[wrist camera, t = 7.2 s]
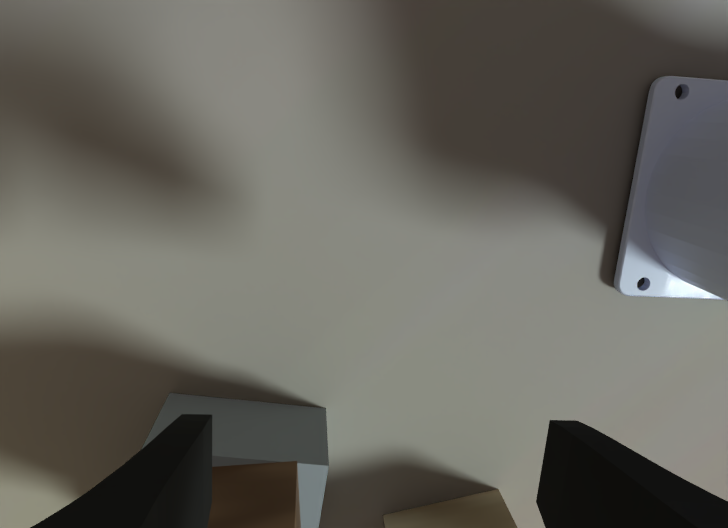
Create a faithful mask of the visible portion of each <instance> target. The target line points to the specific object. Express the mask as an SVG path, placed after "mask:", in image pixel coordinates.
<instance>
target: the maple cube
mask: <svg viewBox="0 0 728 528" xmlns="http://www.w3.org/2000/svg"><path fill="white" fill-rule="evenodd" d="M383 519H384V525H385V528H517V526H516V524H515V522H514V520H513V518H512V516H511V514H510V512H509V510H508V508H507V506H506V504H505V502H504V500H503V498H502V496H501V494H500V492H499V490H498V489H496V490H491V491H487V492H483V493H478V494H474V495H469V496H465V497H461V498H456V499H452V500H447V501H443V502H438V503H434V504H430V505H425V506H421V507H416V508H412V509H408V510H403V511H399V512H394V513H390V514H386V515H383Z"/></svg>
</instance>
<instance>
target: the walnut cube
mask: <svg viewBox="0 0 728 528" xmlns="http://www.w3.org/2000/svg"><path fill="white" fill-rule="evenodd" d="M207 528H301V520H300V502H299V484H298V466H297V461H288V462H275V463H260V464H245V465H231V466H216V467H212V504H211V510H210V515H209V521H208V526H207Z"/></svg>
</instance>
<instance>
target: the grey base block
mask: <svg viewBox="0 0 728 528" xmlns="http://www.w3.org/2000/svg"><path fill="white" fill-rule="evenodd" d="M181 414H210V415H212V467H216V466H231V465H245V464H260V463H275V462H288V461H297V466H298V484H299V502H300V520H301V528H319V522H320V516H321V510H322V504H323V498H324V492H325V486H326V479H327V473H328V467H329V461H328V441H327V421H326V408H317V407H307V406H297V405H287V404H277V403H267V402H257V401H247V400H237V399H227V398H217V397H207V396H197V395H187V394H177V393H169V395H168V397H167V399H166V401H165V403H164V405H163V407H162V409H161V411H160V413H159V415H158V417H157V419H156V421H155V423H154V425H153V427H152V429H151V431H150V433H149V435H148V437H147V439H146V441H145V443H144V445H143V447H142V449H143V448H144V447H145V446H146V445H147V444H148V443H150V442H151V441H152V440H153V439H154V438H155V437H156V436H157V435H159V434H160V433H161V432H162V431H163V430H164V429H165V428H166V427H168V426H169V425H170V424H171V423H172V422H173V421H174V420H176V419H177V418H178V417H179V416H180V415H181ZM142 449H141V450H142Z"/></svg>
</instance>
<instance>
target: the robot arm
mask: <svg viewBox="0 0 728 528" xmlns="http://www.w3.org/2000/svg"><path fill="white" fill-rule="evenodd" d="M679 85H680V86H681V88H682V94H681V97H679V98H678V99H677V98H676V96H675V90H676V88H677V87H678V86H679ZM641 278H644V284H643V285H642V286H641V287H638V288H637V283H638V281H639V280H640V279H641ZM614 286H615V288H616V290H617V291H619V292H620V293H622V294H623V295H627V296H647V297H671V298H695V299H720V300H727V301H728V80H716V79H704V78H692V77H680V76H664V77H659V78H658V79H656V80H655V81H654V82H653V83H652V84H651V87H650V90H649V95H648V100H647V106H646V111H645V116H644V122H643V127H642V132H641V138H640V143H639V149H638V154H637V159H636V165H635V170H634V175H633V181H632V186H631V192H630V197H629V202H628V208H627V213H626V218H625V224H624V229H623V235H622V240H621V245H620V251H619V256H618V261H617V267H616V272H615V278H614ZM536 502H537V505H538V508H539V511H540V513H541V516H542V519H543V522H544V524H545V527H546V528H728V501H725V500H723V499H721V498H719V497H717V496H715V495H713V494H711V493H709V492H707V491H705V490H704V489H702V488H700V487H698V486H696V485H694V484H692V483H690V482H688V481H686V480H684V479H682V478H681V477H679V476H677V475H675V474H673V473H671V472H670V471H668V470H666V469H664V468H662V467H661V466H659V465H657V464H655V463H654V462H652V461H650V460H648V459H647V458H645V457H643V456H641V455H640V454H638V453H636V452H634V451H633V450H631V449H629V448H627V447H626V446H624V445H622V444H621V443H619V442H617V441H615V440H614V439H612V438H610V437H608V436H606V435H605V434H603V433H601V432H599V431H597V430H595V429H593V428H592V427H590V426H588V425H585V424H583V423H581V422H579V421H562V420H550V423H549V429H548V435H547V441H546V447H545V453H544V459H543V464H542V470H541V476H540V482H539V488H538V494H537V500H536ZM211 504H212V415H210V414H181V415H180V416H179V417H178V418H177V419H176V420H174V421H173V422H172V423H171V424H170V425H169V426H168V427H166V428H165V429H164V430H163V431H162V432H161V433H160V434H159V435H157V436H156V437H155V438H154V439H153V440H152V441H151V442H150V443H148V444H147V445H146V446H145V447H144V448H143V449H142V450H140V451H139V452H138V453H137V454H136V455H134V456H133V457H132V458H131V459H130V460H129V461H127V462H126V463H125V464H124V465H123V466H121V467H120V468H119V469H117V470H116V471H115V472H113V473H112V474H111V475H109V476H108V477H107V478H105V479H104V480H103V481H101V482H100V483H99V484H98V485H96V486H95V487H94V488H92V489H91V490H90V491H88V492H87V493H85V494H84V495H82V496H81V497H79V498H78V499H76V500H75V501H73V502H72V503H70V504H69V505H67V506H66V507H64V508H62V509H61V510H59V511H58V512H56V513H54V514H53V515H51V516H50V517H48V518H46V519H45V520H43V521H41V522H40V523H38V524H36V525H34V526H33V527H31V528H207V526H208V521H209V515H210V510H211Z"/></svg>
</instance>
